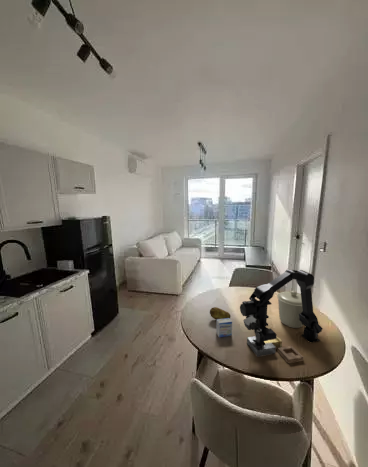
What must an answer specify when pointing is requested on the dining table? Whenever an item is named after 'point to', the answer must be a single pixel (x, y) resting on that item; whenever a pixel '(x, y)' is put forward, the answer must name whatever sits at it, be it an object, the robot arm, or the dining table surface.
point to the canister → (290, 308)
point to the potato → (219, 313)
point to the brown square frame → (290, 354)
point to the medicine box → (224, 327)
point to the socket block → (260, 347)
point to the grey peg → (258, 338)
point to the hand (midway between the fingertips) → (259, 340)
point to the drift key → (274, 342)
